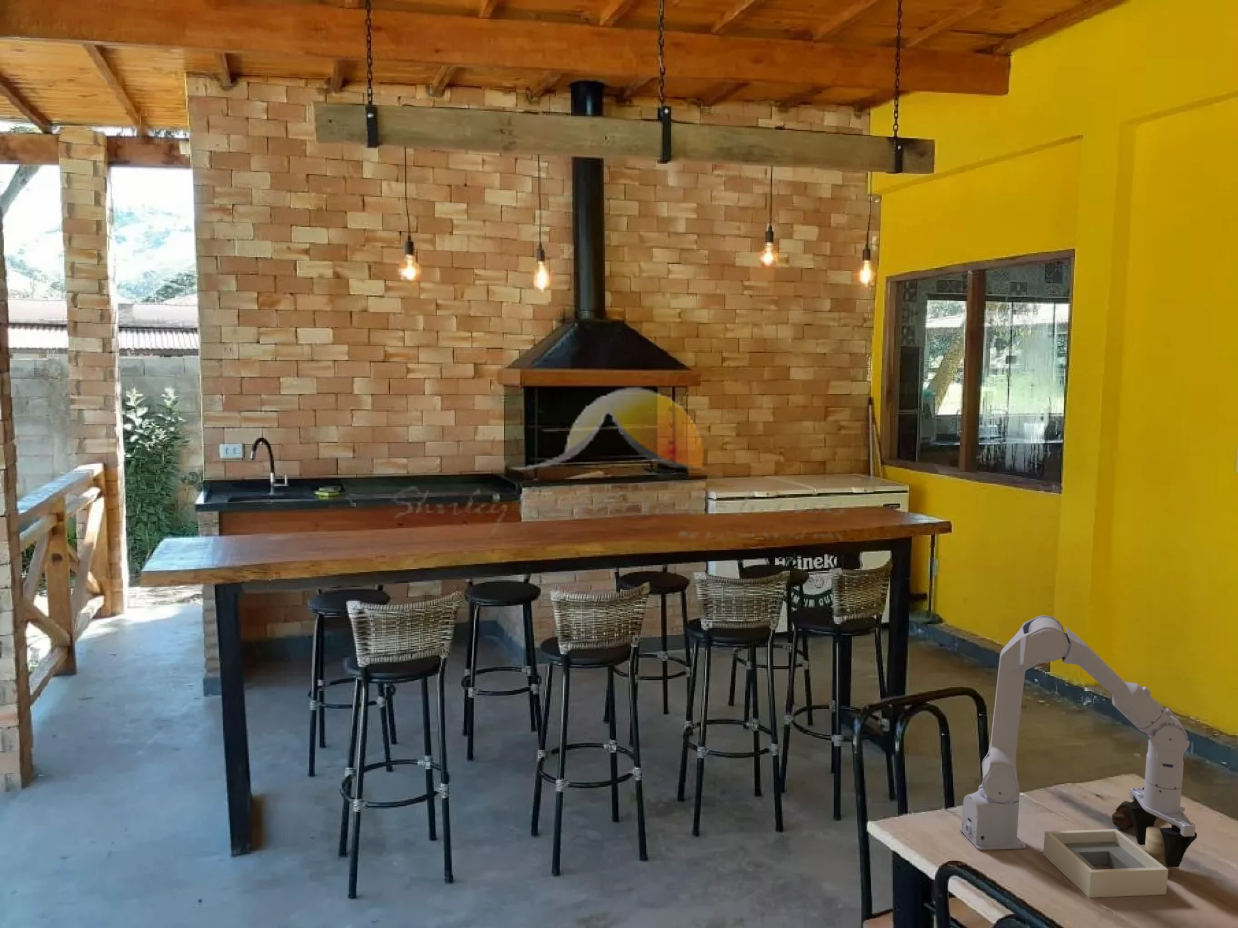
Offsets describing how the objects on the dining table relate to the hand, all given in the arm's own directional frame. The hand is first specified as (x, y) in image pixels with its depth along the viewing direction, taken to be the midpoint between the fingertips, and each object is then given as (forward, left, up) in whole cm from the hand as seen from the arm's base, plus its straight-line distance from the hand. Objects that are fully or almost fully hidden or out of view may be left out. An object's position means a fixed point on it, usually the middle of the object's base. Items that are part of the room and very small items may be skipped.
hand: (1157, 854), depth 165 cm
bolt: (+8, +18, -3) cm, 20 cm away
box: (-11, -1, -3) cm, 11 cm away
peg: (0, 0, -3) cm, 3 cm away
